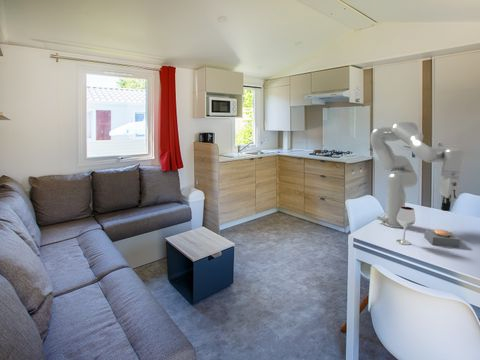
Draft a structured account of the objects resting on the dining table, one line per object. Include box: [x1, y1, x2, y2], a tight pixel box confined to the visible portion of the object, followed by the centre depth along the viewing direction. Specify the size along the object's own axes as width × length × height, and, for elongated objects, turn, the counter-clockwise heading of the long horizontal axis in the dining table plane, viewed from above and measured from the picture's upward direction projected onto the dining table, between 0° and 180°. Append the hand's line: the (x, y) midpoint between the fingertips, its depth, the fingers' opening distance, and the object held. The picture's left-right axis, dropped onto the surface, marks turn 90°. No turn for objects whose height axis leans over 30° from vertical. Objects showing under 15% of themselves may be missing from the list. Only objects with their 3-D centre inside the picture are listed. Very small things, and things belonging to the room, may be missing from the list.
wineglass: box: [396, 206, 416, 246], centre depth 148 cm, size 8×8×18 cm
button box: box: [423, 229, 461, 248], centre depth 150 cm, size 12×10×4 cm
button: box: [433, 229, 452, 237], centre depth 150 cm, size 7×7×5 cm
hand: (445, 210), depth 147 cm, fingers closed
